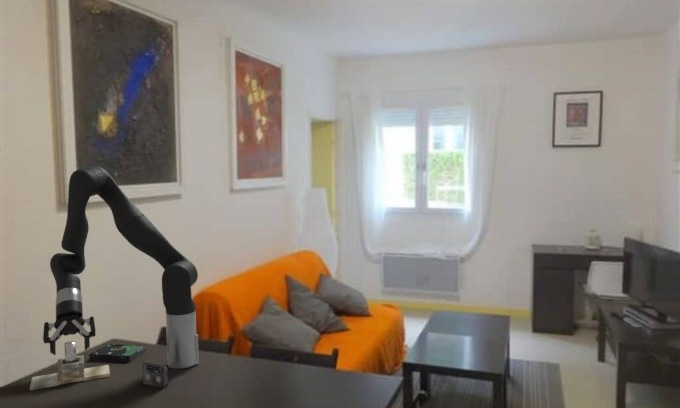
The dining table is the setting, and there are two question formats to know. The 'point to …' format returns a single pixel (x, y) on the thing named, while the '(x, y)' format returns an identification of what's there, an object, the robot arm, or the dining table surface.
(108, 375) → the hinge leaves
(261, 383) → the dining table surface
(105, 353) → the disk drive
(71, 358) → the hinge pin
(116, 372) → the dining table surface
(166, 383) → the mini dv tape
